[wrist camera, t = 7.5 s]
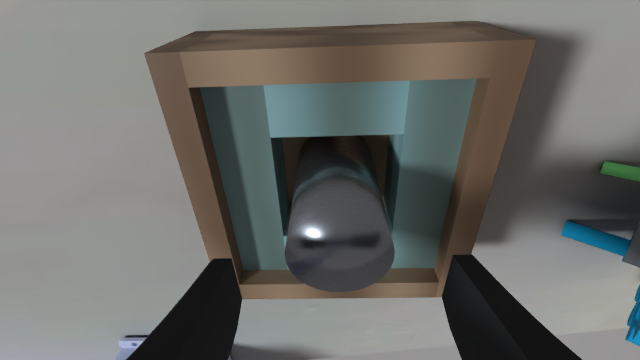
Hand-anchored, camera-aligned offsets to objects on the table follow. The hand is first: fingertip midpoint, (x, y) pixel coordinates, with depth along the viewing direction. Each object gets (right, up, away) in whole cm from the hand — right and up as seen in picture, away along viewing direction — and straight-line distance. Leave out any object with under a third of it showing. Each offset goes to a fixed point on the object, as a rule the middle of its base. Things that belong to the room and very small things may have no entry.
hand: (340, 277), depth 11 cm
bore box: (0, +5, +8) cm, 9 cm away
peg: (0, +4, +7) cm, 8 cm away
